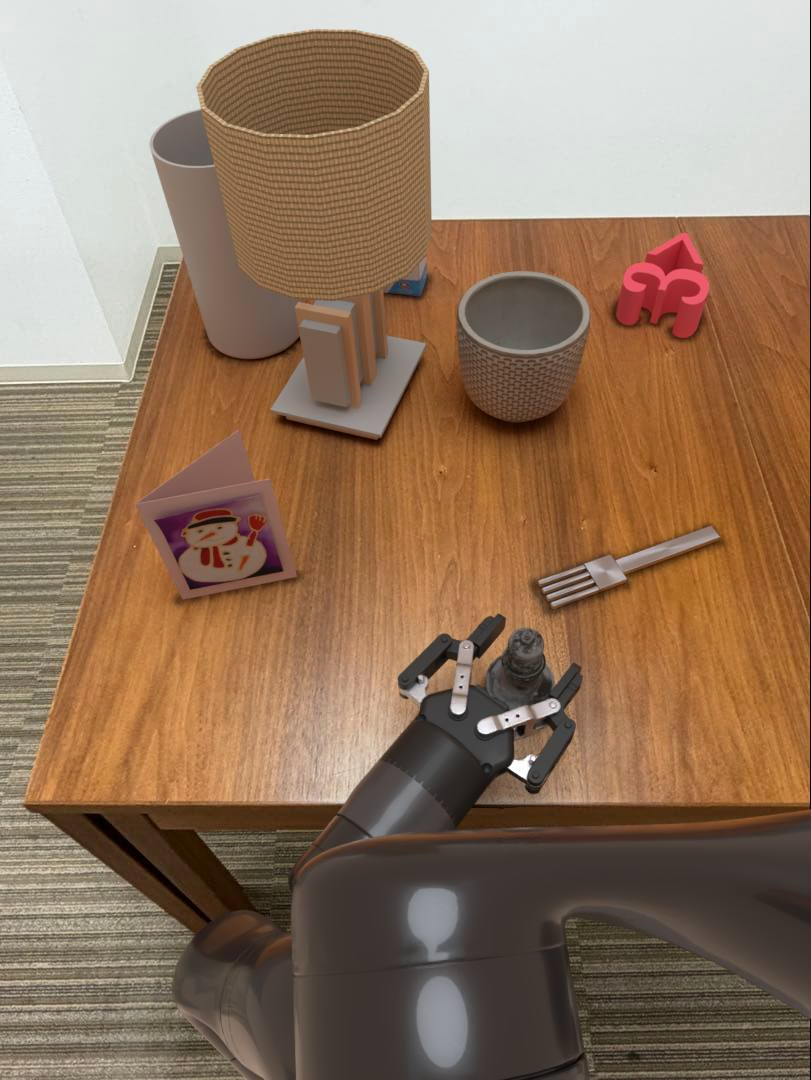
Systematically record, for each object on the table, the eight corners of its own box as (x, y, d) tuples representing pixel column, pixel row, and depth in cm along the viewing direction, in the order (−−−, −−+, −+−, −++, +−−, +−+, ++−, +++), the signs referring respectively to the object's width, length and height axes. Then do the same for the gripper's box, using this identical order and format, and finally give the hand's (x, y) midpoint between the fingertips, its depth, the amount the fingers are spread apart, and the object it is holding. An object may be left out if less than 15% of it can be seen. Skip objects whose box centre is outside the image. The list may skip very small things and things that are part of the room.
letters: (639, 258, 108) (647, 225, 104) (716, 275, 105) (727, 241, 101) (611, 321, 101) (618, 288, 97) (692, 340, 98) (702, 307, 94)
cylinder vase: (319, 306, 105) (288, 112, 85) (284, 369, 98) (241, 174, 78) (232, 293, 108) (182, 101, 87) (192, 353, 101) (127, 160, 80)
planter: (596, 387, 94) (614, 295, 83) (540, 463, 87) (552, 373, 77) (493, 347, 99) (498, 255, 88) (432, 416, 92) (430, 325, 82)
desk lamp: (310, 324, 103) (258, 19, 74) (455, 353, 98) (458, 40, 70) (242, 429, 92) (152, 120, 64) (402, 467, 88) (380, 153, 59)
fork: (705, 523, 81) (706, 519, 81) (723, 547, 80) (725, 542, 79) (537, 583, 78) (537, 580, 77) (552, 609, 76) (553, 606, 76)
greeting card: (182, 606, 78) (134, 512, 66) (179, 547, 83) (133, 448, 70) (298, 583, 79) (271, 486, 67) (288, 526, 84) (262, 424, 72)
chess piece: (477, 676, 72) (481, 606, 63) (539, 664, 73) (553, 593, 63) (492, 736, 69) (500, 673, 59) (558, 723, 69) (576, 659, 60)
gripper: (493, 848, 53) (622, 671, 60) (335, 721, 59) (470, 574, 66) (489, 876, 59) (606, 712, 66) (345, 759, 65) (468, 620, 72)
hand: (538, 644), depth 66 cm, fingers open, 7 cm apart
